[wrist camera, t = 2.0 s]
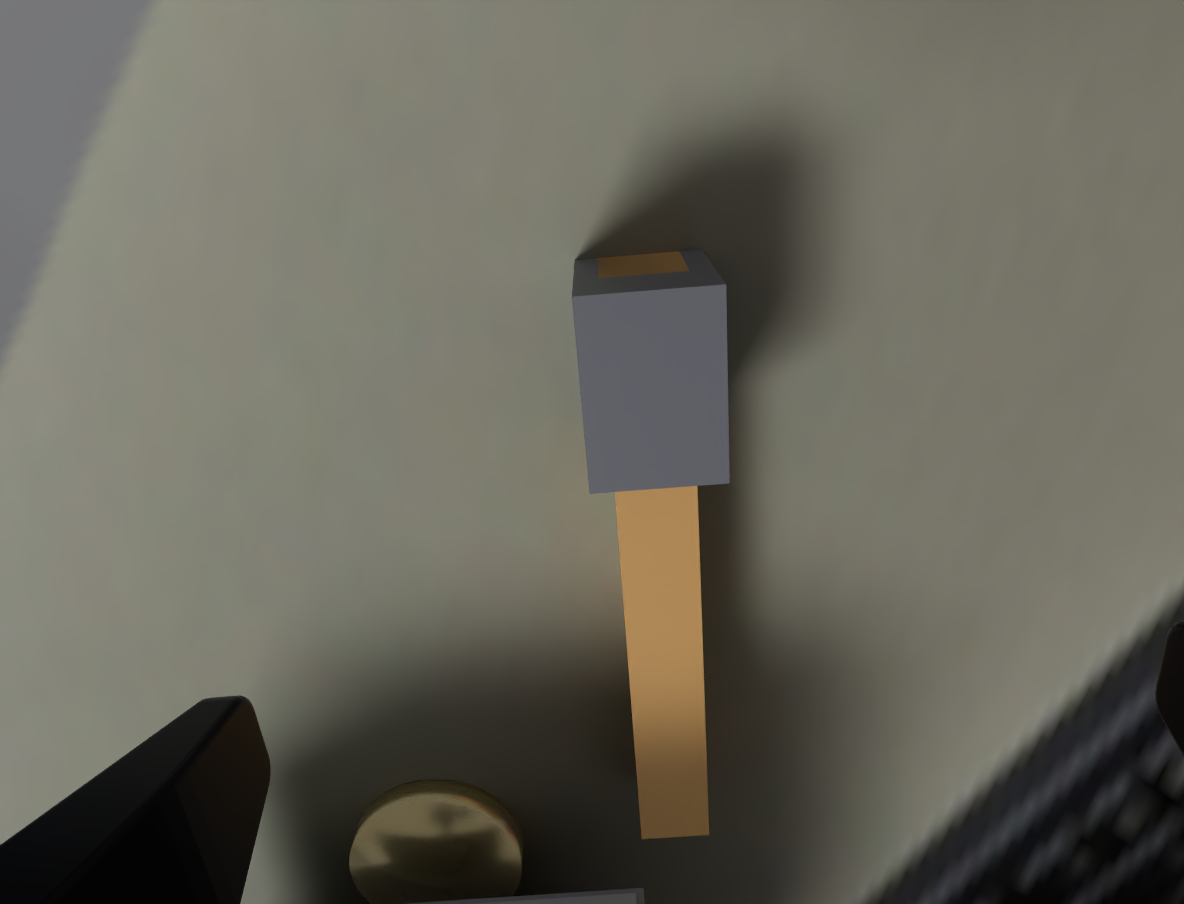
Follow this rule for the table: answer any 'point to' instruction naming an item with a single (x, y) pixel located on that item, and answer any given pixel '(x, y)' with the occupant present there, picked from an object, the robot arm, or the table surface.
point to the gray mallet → (658, 494)
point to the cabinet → (562, 898)
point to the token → (436, 845)
